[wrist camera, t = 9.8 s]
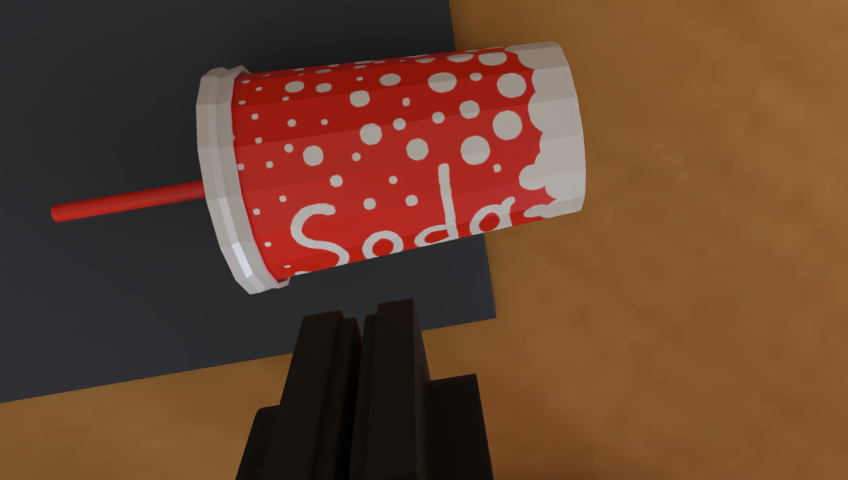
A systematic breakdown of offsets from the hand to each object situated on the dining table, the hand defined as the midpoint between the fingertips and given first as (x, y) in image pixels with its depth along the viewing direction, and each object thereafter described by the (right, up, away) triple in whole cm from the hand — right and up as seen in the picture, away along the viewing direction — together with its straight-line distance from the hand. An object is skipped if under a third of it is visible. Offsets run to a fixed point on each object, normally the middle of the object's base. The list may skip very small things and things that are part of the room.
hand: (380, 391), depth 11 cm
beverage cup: (+5, +5, +9) cm, 11 cm away
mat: (-7, +5, +12) cm, 15 cm away
